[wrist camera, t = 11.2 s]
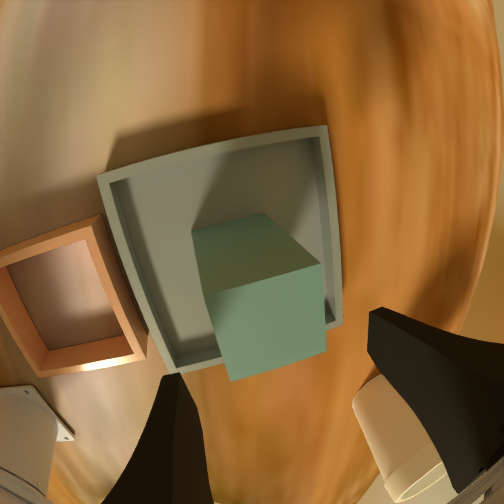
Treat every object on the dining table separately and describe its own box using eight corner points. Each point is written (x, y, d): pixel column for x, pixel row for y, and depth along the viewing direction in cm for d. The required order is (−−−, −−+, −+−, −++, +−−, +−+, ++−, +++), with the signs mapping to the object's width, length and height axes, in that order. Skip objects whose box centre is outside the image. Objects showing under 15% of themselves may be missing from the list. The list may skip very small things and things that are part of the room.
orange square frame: (46, 357, 19) (38, 378, 17) (-6, 252, 15) (-23, 266, 13) (147, 336, 20) (146, 358, 18) (101, 214, 17) (90, 225, 14)
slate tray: (170, 358, 21) (170, 376, 20) (104, 171, 16) (95, 176, 14) (331, 311, 23) (343, 324, 22) (312, 125, 18) (327, 125, 16)
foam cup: (362, 363, 27) (437, 459, 15) (420, 357, 30) (489, 428, 18) (327, 425, 30) (377, 513, 18) (385, 413, 33) (436, 483, 21)
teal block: (208, 295, 20) (230, 381, 12) (190, 230, 18) (203, 296, 11) (274, 277, 20) (326, 351, 13) (263, 212, 19) (321, 263, 11)
